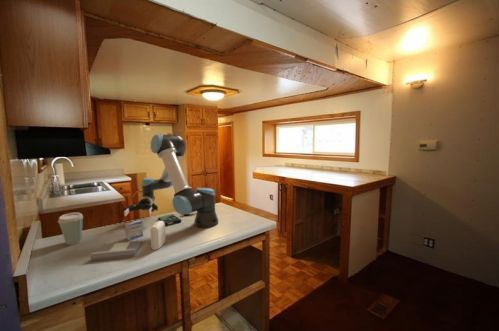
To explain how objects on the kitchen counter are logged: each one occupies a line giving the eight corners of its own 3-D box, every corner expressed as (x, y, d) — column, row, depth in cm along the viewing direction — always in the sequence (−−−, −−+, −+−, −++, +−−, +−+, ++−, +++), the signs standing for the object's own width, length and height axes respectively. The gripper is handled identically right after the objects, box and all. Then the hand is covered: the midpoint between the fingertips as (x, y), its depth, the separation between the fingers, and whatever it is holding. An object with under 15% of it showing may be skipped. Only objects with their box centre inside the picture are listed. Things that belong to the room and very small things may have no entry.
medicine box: (130, 240, 122) (129, 225, 121) (125, 238, 125) (124, 223, 124) (143, 235, 129) (142, 220, 128) (138, 233, 131) (137, 219, 130)
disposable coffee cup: (88, 241, 121) (86, 214, 120) (63, 249, 113) (60, 220, 111) (81, 236, 128) (79, 210, 126) (57, 243, 119) (54, 215, 118)
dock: (142, 242, 120) (142, 236, 120) (134, 256, 105) (134, 249, 105) (104, 246, 116) (104, 240, 116) (91, 261, 101) (90, 254, 101)
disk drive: (181, 223, 150) (172, 217, 161) (181, 219, 149) (172, 213, 160) (166, 227, 143) (157, 220, 154) (165, 223, 142) (157, 216, 153)
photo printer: (158, 241, 122) (157, 218, 120) (166, 241, 122) (165, 218, 120) (150, 250, 111) (148, 225, 110) (158, 250, 111) (157, 225, 110)
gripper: (164, 207, 159) (159, 217, 139) (125, 209, 154) (114, 220, 133) (164, 197, 158) (159, 205, 138) (125, 198, 153) (113, 208, 132)
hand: (137, 213), depth 136 cm, fingers open, 13 cm apart
